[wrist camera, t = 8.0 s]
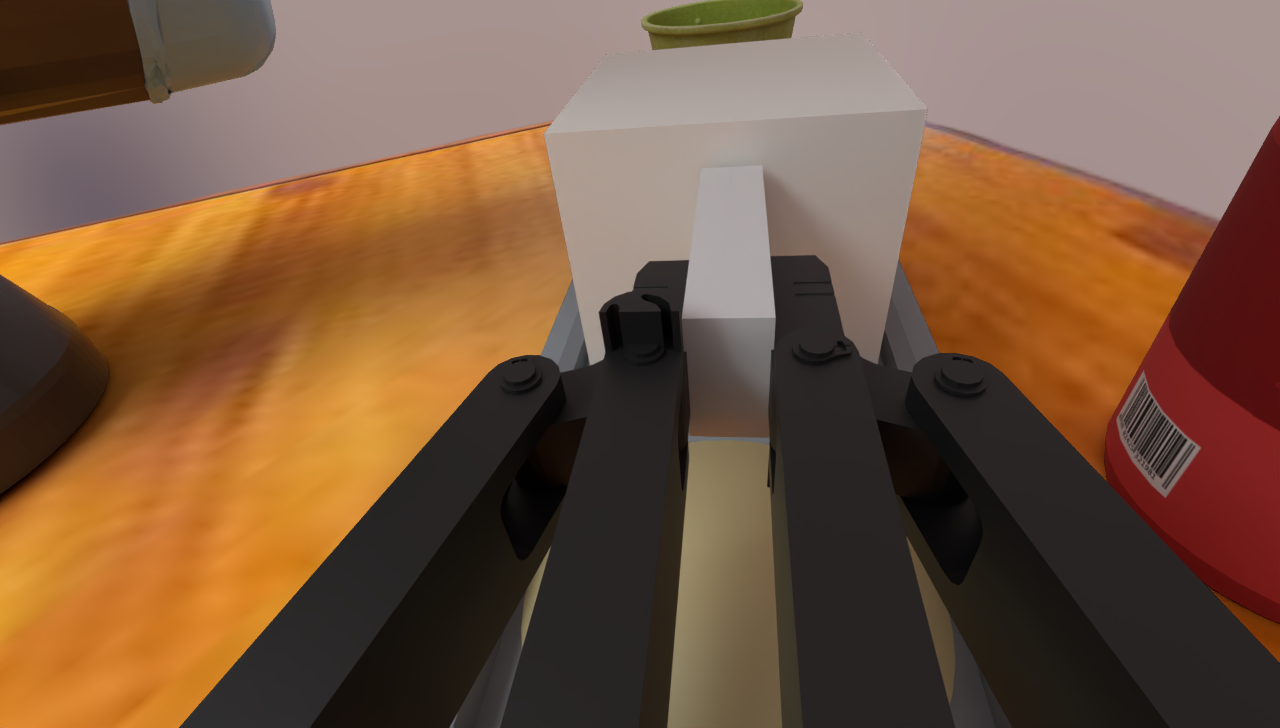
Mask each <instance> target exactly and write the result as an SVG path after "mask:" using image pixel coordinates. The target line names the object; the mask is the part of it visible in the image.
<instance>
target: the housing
mask: <svg viewBox="0 0 1280 728" xmlns="http://www.w3.org/2000/svg"><path fill="white" fill-rule="evenodd" d="M927 112H928V108H927V107H926V106H925V105H924V104H923V102H922V101H921V100H920V99H919V98H918V97H917V95H916V94H915V93H914V92H913V91H912V90H911V88H910V87H909V86H908V85H907V84H906V83H905V82H904V81H903V79H902V78H901V77H900V76H899V75H898V73H897V72H896V71H895V70H894V69H893V68H892V67H891V65H890V64H889V63H888V62H887V61H886V60H885V58H884V57H883V56H882V55H881V54H880V53H879V51H878V50H877V49H876V48H875V47H874V46H873V45H872V43H871V42H870V41H869V40H868V39H867V38H866V36H864V34H863V33H862V32H858V33H846V34H834V35H824V36H812V37H800V38H788V39H777V40H765V41H753V42H742V43H730V44H719V45H707V46H696V47H684V48H672V49H661V50H649V51H638V52H626V53H615V54H606V55H605V56H604V57H603V59H602V60H601V61H600V62H599V64H598V65H597V66H596V68H595V69H594V70H593V72H592V73H591V74H590V75H589V77H588V78H587V79H586V81H585V82H584V83H583V84H582V86H581V87H580V88H579V89H578V91H577V92H576V93H575V95H574V96H573V97H572V98H571V100H570V101H569V102H568V104H567V105H566V106H565V107H564V109H563V110H562V111H561V113H560V114H559V115H558V117H557V118H556V119H555V120H554V122H553V123H552V124H551V125H550V127H549V128H548V129H547V131H546V132H545V133H544V137H545V142H546V147H547V152H548V157H549V162H550V167H551V172H552V177H553V182H554V187H555V192H556V197H557V202H558V207H559V212H560V217H561V222H562V227H563V232H564V237H565V242H566V247H567V252H568V257H569V262H570V267H571V272H572V277H573V282H574V288H575V293H576V298H577V303H578V308H579V313H580V318H581V323H582V328H583V333H584V338H585V343H586V348H587V353H588V358H589V363H590V365H593V364H595V363H597V362H599V361H601V360H603V359H604V355H605V347H604V341H603V335H602V330H601V324H600V318H599V311H600V309H601V308H602V306H603V305H604V303H606V302H607V301H609V300H610V299H612V298H613V297H615V296H618V295H621V294H624V293H626V292H631V291H632V290H633V286H634V282H635V279H636V275H637V273H638V272H639V271H640V270H641V269H642V268H643V267H644V266H645V265H646V264H647V263H648V262H649V261H674V260H689V259H690V251H691V243H692V236H693V228H694V220H695V212H696V205H697V197H698V189H699V182H700V174H701V168H719V167H739V166H758V165H762V168H763V180H764V191H765V202H766V214H767V225H768V236H769V248H770V256H797V255H816V256H817V257H818V258H819V259H820V260H821V261H822V262H823V263H824V264H825V265H826V266H828V268H829V272H830V276H831V280H832V285H833V289H834V296H835V297H836V301H837V306H838V310H839V314H840V318H841V322H842V327H843V331H844V335H845V337H847V338H848V339H850V340H851V341H852V342H853V343H854V344H855V346H856V348H857V349H858V351H859V354H860V356H861V357H862V358H864V359H866V360H868V361H871V362H873V363H875V364H878V359H879V354H880V349H881V344H882V339H883V334H884V329H885V324H886V319H887V314H888V309H889V304H890V299H891V294H892V289H893V284H894V279H895V274H896V269H897V264H898V258H899V253H900V248H901V243H902V238H903V233H904V228H905V223H906V218H907V213H908V208H909V203H910V198H911V193H912V188H913V183H914V178H915V173H916V168H917V163H918V158H919V152H920V147H921V142H922V137H923V132H924V127H925V122H926V117H927Z"/></svg>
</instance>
